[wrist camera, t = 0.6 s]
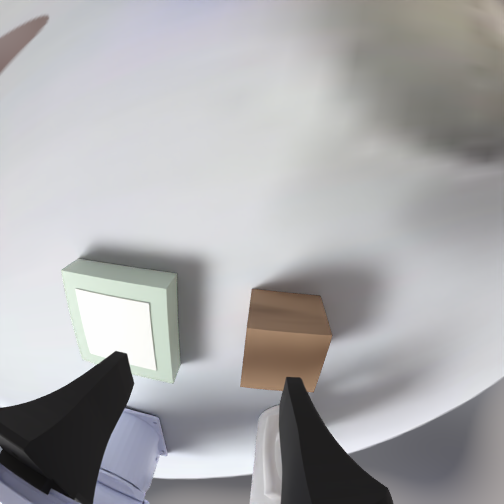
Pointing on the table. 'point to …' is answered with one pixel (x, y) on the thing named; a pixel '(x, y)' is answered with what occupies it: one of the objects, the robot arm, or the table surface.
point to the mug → (267, 460)
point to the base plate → (125, 315)
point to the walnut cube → (284, 340)
